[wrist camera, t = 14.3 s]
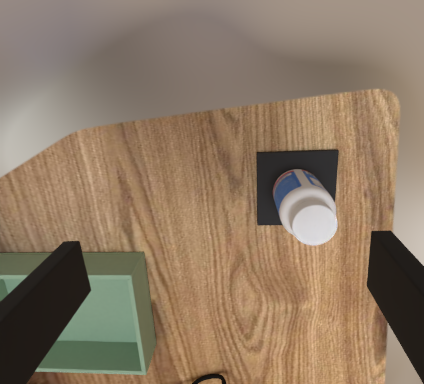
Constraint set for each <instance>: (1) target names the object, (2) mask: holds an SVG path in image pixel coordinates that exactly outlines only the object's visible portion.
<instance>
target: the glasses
mask: <svg viewBox="0 0 424 384" xmlns="http://www.w3.org/2000/svg"><path fill="white" fill-rule="evenodd" d="M212 378H219V379H221V380H222V384H226V381H225V379H224V377H223V376H222V375H219V374H210V375H206V376H203V377H200V378H199V379H197V380H195V381H194V382H193V383H192V384H198V383H199V382H201V381H203V380H206V379H212Z"/></svg>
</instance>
